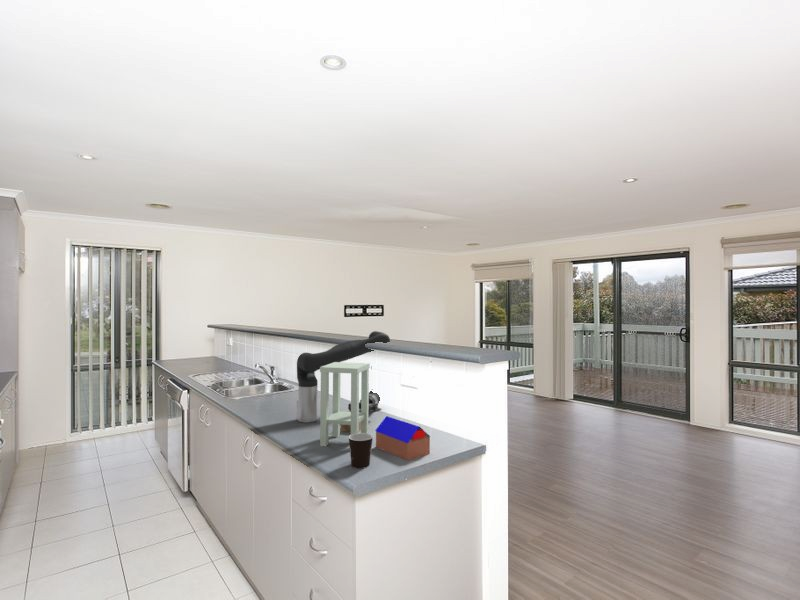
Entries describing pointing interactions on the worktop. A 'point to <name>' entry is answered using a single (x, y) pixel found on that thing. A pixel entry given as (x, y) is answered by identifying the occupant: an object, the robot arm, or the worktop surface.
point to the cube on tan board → (349, 427)
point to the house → (402, 439)
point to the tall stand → (337, 415)
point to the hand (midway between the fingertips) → (358, 409)
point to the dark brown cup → (360, 449)
